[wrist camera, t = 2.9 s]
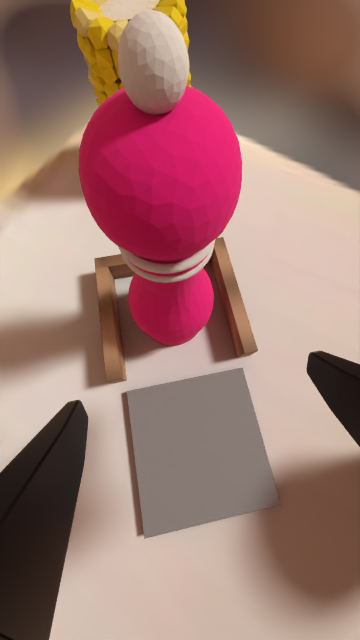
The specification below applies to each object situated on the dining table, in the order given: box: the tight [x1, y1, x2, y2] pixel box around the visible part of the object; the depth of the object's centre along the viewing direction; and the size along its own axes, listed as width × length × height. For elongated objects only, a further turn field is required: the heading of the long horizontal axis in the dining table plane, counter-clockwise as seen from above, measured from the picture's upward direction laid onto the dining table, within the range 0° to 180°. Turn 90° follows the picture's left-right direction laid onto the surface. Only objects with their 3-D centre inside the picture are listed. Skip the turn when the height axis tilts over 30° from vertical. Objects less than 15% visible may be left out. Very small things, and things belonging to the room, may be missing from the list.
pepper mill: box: [79, 10, 242, 345], centre depth 14 cm, size 7×7×20 cm
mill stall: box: [94, 237, 258, 383], centre depth 23 cm, size 12×13×2 cm
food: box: [70, 0, 192, 106], centre depth 24 cm, size 15×12×10 cm
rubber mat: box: [127, 368, 281, 539], centre depth 20 cm, size 11×11×1 cm
